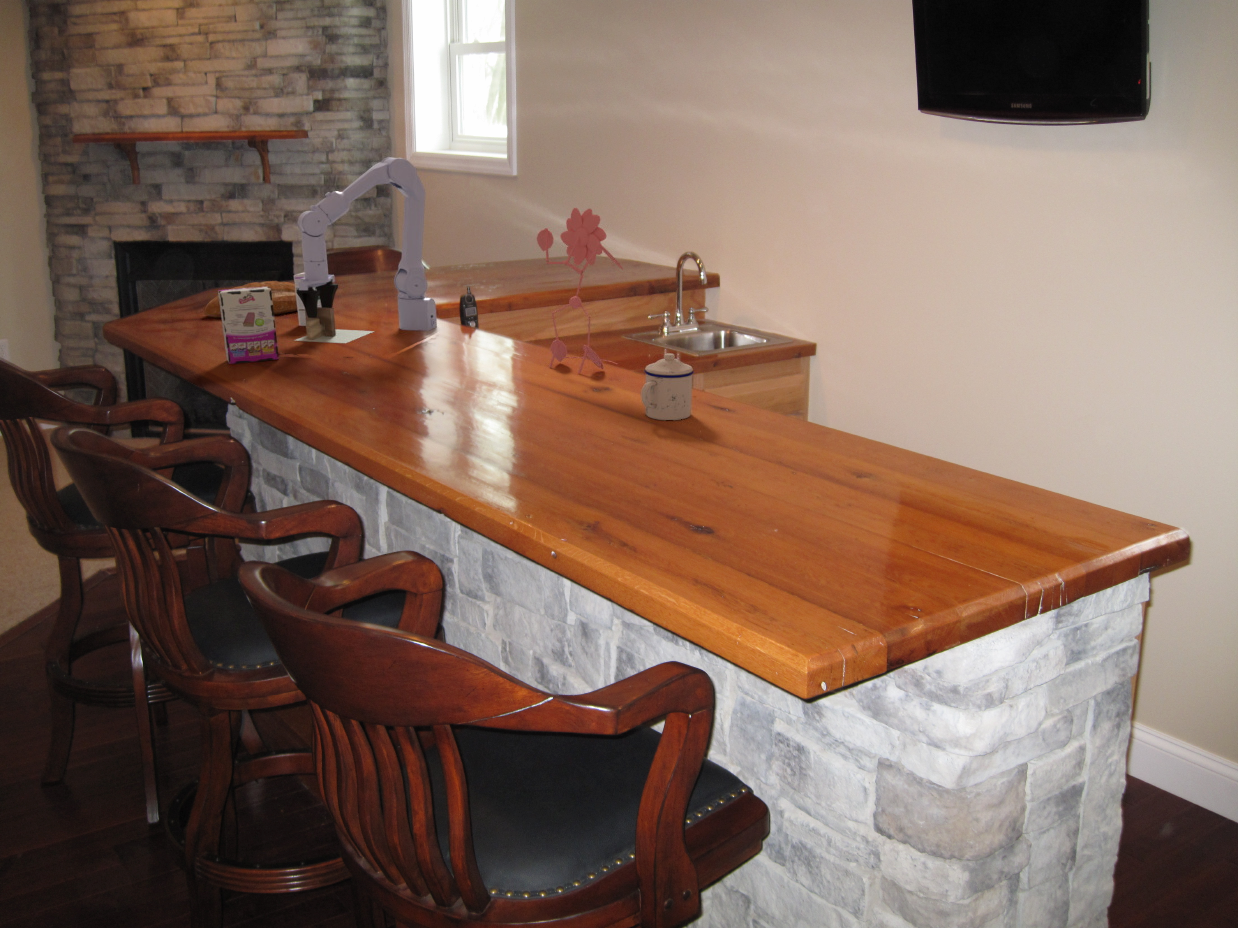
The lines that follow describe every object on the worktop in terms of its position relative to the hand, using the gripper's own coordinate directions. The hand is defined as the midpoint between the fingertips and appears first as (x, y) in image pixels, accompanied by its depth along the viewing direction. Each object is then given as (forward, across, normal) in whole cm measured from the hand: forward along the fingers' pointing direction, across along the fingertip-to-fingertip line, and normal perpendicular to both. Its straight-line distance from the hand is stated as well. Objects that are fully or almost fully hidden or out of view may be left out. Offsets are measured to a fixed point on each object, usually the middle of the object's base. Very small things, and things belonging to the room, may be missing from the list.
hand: (319, 315), depth 257 cm
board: (+6, 0, +4) cm, 7 cm away
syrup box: (+6, -14, -10) cm, 18 cm away
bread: (+6, -33, -36) cm, 49 cm away
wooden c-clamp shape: (+5, 0, 0) cm, 5 cm away
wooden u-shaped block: (+5, 0, 0) cm, 5 cm away
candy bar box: (+6, +27, -3) cm, 28 cm away
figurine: (+6, +14, +73) cm, 75 cm away
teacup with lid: (+6, +52, +98) cm, 111 cm away
